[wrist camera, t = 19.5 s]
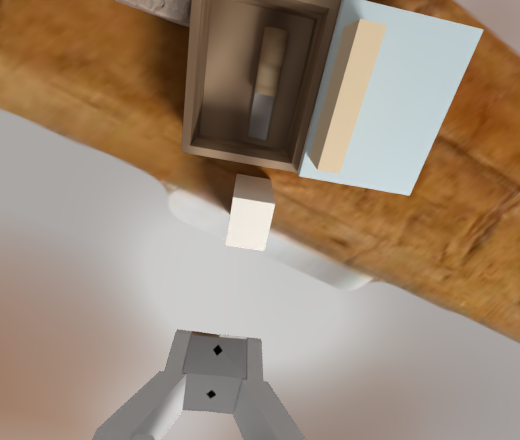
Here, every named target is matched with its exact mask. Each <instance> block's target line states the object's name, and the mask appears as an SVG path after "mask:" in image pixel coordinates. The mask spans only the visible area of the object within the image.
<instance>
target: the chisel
mask: <svg viewBox="0 0 520 440" xmlns="http://www.w3.org/2000/svg"><path fill="white" fill-rule="evenodd" d="M287 38H288V32H287V31H285V30H282V29H278V28H273V27H265V29H264V35H263V42H262V48H261V54H260V60H259V66H258V72H257V78H256V84H255V90H254V92H255V94H254V101H253V107H252V113H251V119H250V125H249V131H248V137H251V138H257V139H262V140H266V138H267V133H268V127H269V122H270V117H271V112H272V107H273V102H274V97H276V94H277V89H278V83H279V78H280V73H281V68H282V63H283V58H284V53H285V48H286V43H287Z"/></svg>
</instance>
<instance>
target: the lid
mask: <svg viewBox="0 0 520 440" xmlns="http://www.w3.org/2000/svg"><path fill="white" fill-rule="evenodd" d="M482 32H483V29H479V28H475V27H471V26H467V25H463V24H459V23H455V22H451V21H447V20H443V19H439V18H435V17H431V16H427V15H422V14H418V13H414V12H410V11H406V10H402V9H398V8H394V7H390V6H386V5H382V4H378V3H374V2H370V1H366V0H342V1H341V5H340V9H339V13H338V17H337V21H336V25H335V29H334V33H333V37H332V41H331V45H330V49H329V53H328V56H327V60H326V64H325V68H324V72H323V76H322V80H321V84H320V88H319V92H318V96H317V100H316V104H315V108H314V112H313V115H312V119H311V123H310V127H309V131H308V135H307V139H306V143H305V147H304V151H303V155H302V159H301V163H300V167H299V171H298V175H299V176H300V177H306V178H312V179H318V180H323V181H329V182H335V183H340V184H346V185H352V186H358V187H363V188H369V189H375V190H380V191H386V192H392V193H398V194H403V195H409V196H410V194H411V192H412V189H413V187H414V185H415V183H416V180H417V178H418V176H419V174H420V171H421V169H422V167H423V165H424V162H425V160H426V158H427V156H428V153H429V151H430V149H431V147H432V144H433V142H434V140H435V138H436V135H437V133H438V131H439V129H440V126H441V124H442V122H443V120H444V118H445V115H446V113H447V111H448V109H449V106H450V104H451V102H452V100H453V97H454V95H455V93H456V91H457V88H458V86H459V84H460V82H461V79H462V77H463V75H464V73H465V70H466V68H467V66H468V64H469V61H470V59H471V57H472V55H473V52H474V50H475V48H476V46H477V43H478V41H479V39H480V37H481V34H482Z"/></svg>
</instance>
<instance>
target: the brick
mask: <svg viewBox="0 0 520 440" xmlns="http://www.w3.org/2000/svg"><path fill="white" fill-rule="evenodd" d="M115 1H117V2H120V3H122V4H125V5H127V6H130V7H133V8H136V9H140V10H143V11H145V12H147V13H150V14H153V15H156V16H158V17H161V18H163V19H165V20H167V21H170V22H174V23H177V24H180V25H183V26H186V27H189V28H190V17H191V2H192V0H115Z"/></svg>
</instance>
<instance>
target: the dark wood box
mask: <svg viewBox="0 0 520 440" xmlns="http://www.w3.org/2000/svg"><path fill="white" fill-rule="evenodd" d="M340 2H341V0H192V2H191V17H190V31H189V46H188V60H187V75H186V90H185V104H184V119H183V133H182V148H181V152H183V153H189V154H195V155H200V156H206V157H212V158H217V159H223V160H229V161H234V162H240V163H246V164H251V165H257V166H263V167H268V168H274V169H280V170H285V171H291V172H298V168H299V164H300V160H301V156H302V152H303V148H304V144H305V140H306V136H307V132H308V128H309V125H310V121H311V117H312V113H313V109H314V105H315V101H316V97H317V93H318V89H319V85H320V81H321V77H322V73H323V69H324V65H325V61H326V57H327V53H328V49H329V46H330V42H331V38H332V34H333V30H334V26H335V22H336V18H337V14H338V10H339V6H340ZM265 27H273V28H278V29H282V30H285V31H287V32H288V38H287V43H286V48H285V53H284V58H283V63H282V68H281V73H280V78H279V83H278V89H277V94H276V97H274V102H273V107H272V112H271V117H270V122H269V127H268V133H267V138H266V140H262V139H257V138H251V137H248V131H249V125H250V119H251V113H252V107H253V101H254V94H255V92H254V90H255V84H256V78H257V72H258V66H259V60H260V54H261V48H262V42H263V35H264V29H265Z"/></svg>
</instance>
